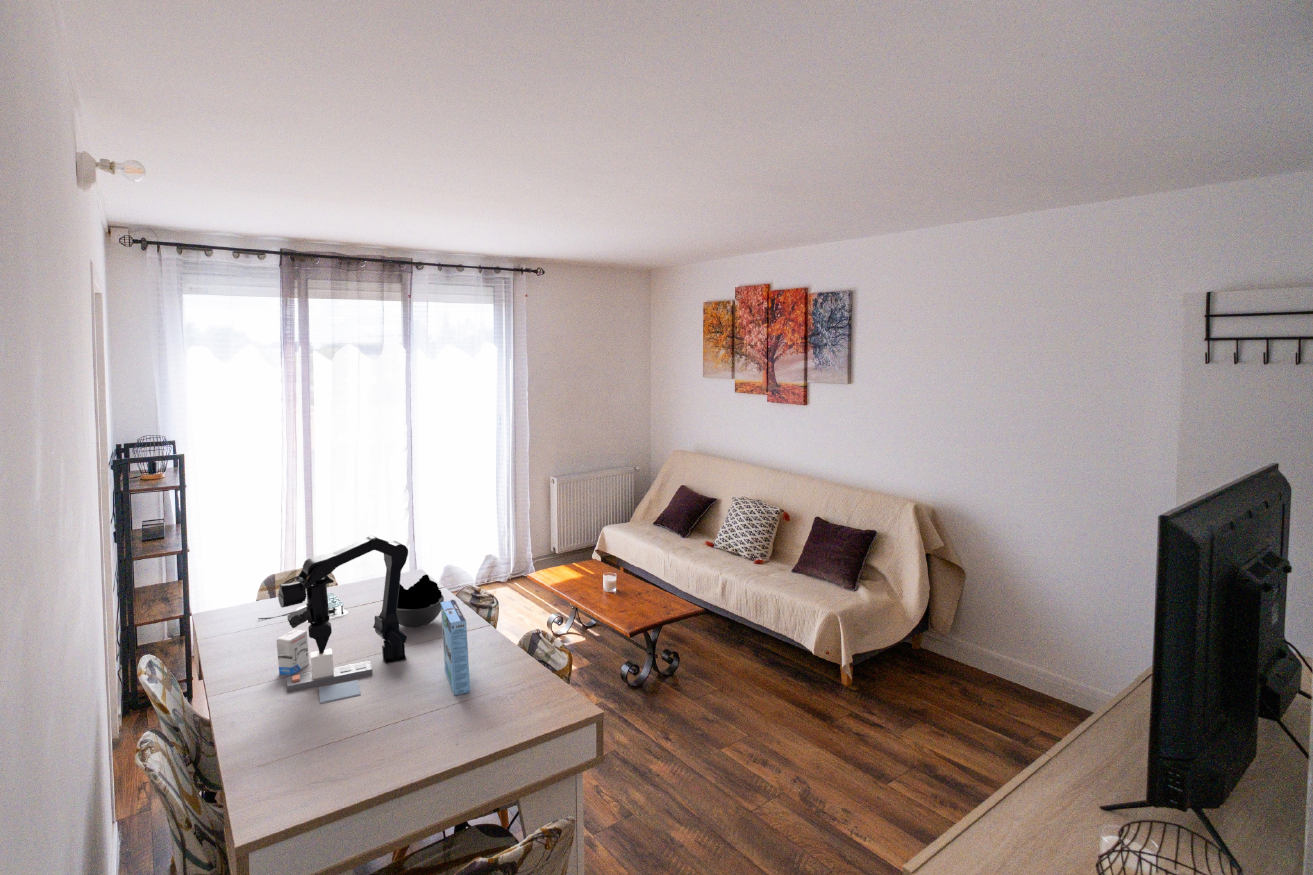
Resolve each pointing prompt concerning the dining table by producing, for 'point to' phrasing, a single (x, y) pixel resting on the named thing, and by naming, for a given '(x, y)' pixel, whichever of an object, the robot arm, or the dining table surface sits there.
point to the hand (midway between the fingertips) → (321, 646)
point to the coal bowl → (419, 603)
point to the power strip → (339, 675)
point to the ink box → (292, 652)
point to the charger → (322, 664)
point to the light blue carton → (455, 647)
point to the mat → (339, 691)
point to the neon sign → (334, 607)
